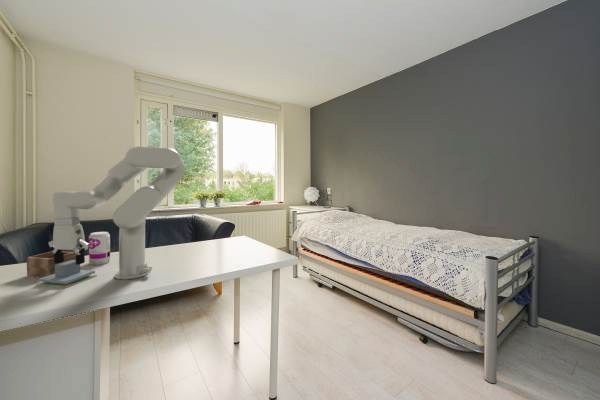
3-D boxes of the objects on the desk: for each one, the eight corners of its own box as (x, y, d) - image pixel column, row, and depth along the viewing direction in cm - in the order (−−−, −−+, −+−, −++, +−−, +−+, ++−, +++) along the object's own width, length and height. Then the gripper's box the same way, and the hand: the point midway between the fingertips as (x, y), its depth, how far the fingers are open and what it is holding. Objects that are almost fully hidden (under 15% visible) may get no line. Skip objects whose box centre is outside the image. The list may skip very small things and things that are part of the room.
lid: (94, 275, 109) (94, 259, 108) (66, 286, 97) (65, 268, 96) (69, 273, 110) (69, 257, 110) (38, 283, 98) (38, 266, 98)
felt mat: (96, 275, 109) (96, 275, 109) (65, 288, 96) (65, 287, 96) (70, 273, 111) (70, 272, 111) (35, 285, 98) (35, 284, 98)
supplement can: (98, 266, 121) (98, 235, 120) (84, 264, 123) (84, 233, 122) (114, 261, 129) (114, 232, 128) (101, 259, 131) (100, 231, 130)
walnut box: (76, 269, 116) (76, 252, 115) (50, 278, 105) (49, 259, 105) (55, 267, 117) (54, 250, 117) (27, 276, 106) (26, 257, 106)
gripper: (95, 220, 105) (97, 261, 106) (58, 219, 107) (60, 259, 108) (77, 223, 97) (79, 267, 99) (38, 222, 99) (40, 265, 101)
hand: (69, 263), depth 103 cm, fingers open, 9 cm apart
